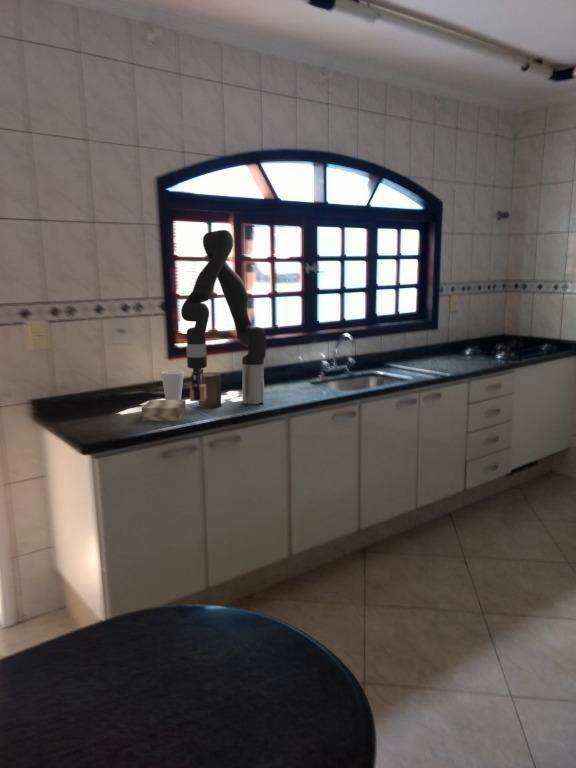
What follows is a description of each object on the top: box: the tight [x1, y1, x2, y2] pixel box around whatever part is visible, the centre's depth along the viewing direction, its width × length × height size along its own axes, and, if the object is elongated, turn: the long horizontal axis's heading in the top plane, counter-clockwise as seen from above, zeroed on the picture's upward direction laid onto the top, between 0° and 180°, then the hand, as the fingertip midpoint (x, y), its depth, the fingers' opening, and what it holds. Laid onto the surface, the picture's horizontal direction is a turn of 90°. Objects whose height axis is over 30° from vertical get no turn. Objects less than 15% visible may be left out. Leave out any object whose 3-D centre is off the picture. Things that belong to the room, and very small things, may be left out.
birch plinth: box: [141, 399, 187, 422], centre depth 225 cm, size 14×14×5 cm
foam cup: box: [160, 369, 185, 400], centre depth 250 cm, size 10×9×13 cm
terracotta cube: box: [189, 384, 207, 402], centre depth 223 cm, size 6×6×6 cm
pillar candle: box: [198, 370, 222, 409], centre depth 242 cm, size 10×10×15 cm
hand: (198, 397), depth 224 cm, fingers closed on terracotta cube, 5 cm apart
